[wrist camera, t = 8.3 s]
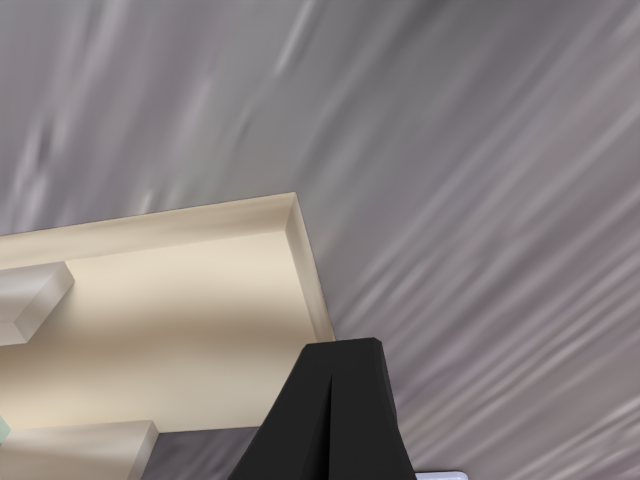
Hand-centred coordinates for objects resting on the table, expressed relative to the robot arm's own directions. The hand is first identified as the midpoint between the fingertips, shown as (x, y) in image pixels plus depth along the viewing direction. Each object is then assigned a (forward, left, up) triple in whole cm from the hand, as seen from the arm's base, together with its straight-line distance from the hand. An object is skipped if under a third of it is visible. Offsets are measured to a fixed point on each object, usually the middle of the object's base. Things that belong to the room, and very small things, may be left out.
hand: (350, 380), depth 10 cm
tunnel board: (-5, +15, -9) cm, 18 cm away
